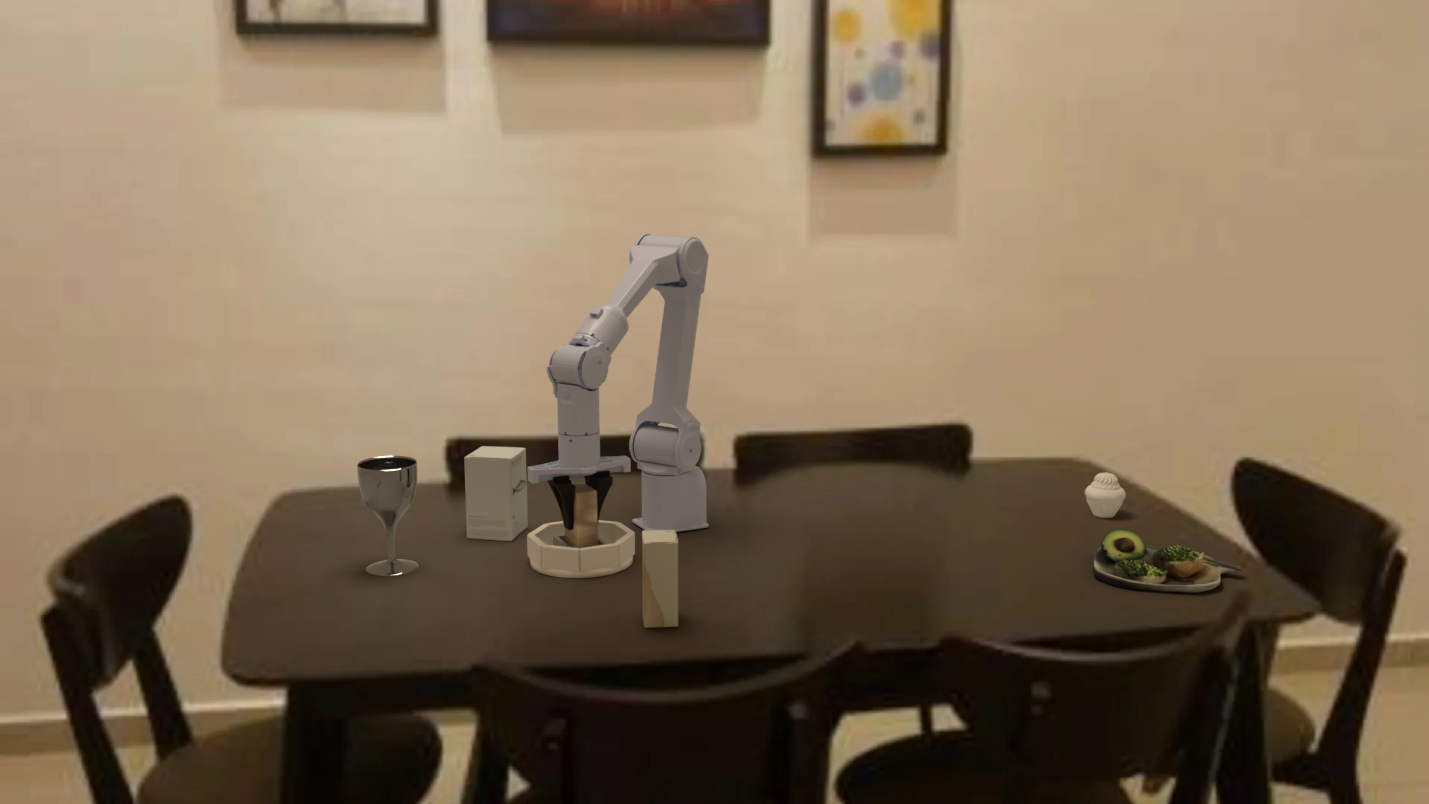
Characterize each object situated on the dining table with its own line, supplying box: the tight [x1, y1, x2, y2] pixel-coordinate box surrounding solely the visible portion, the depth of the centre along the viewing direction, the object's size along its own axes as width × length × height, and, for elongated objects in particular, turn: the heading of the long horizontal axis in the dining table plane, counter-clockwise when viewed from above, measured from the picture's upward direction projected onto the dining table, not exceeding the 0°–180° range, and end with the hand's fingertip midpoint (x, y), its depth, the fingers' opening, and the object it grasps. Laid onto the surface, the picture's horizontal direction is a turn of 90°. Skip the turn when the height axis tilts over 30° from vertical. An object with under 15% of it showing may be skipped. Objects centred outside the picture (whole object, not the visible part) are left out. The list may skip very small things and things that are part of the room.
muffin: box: [1084, 471, 1127, 519], centre depth 215 cm, size 6×6×7 cm
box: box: [641, 530, 679, 629], centre depth 169 cm, size 5×4×11 cm
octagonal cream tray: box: [526, 519, 636, 579], centre depth 193 cm, size 14×14×4 cm
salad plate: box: [1091, 529, 1243, 593], centre depth 188 cm, size 19×18×5 cm
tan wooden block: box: [565, 482, 598, 548], centre depth 192 cm, size 3×5×8 cm, turn 26°
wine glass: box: [356, 455, 420, 577], centre depth 189 cm, size 8×8×15 cm
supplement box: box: [463, 445, 529, 542], centre depth 205 cm, size 7×7×13 cm
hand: (580, 526), depth 192 cm, fingers closed on tan wooden block, 3 cm apart
